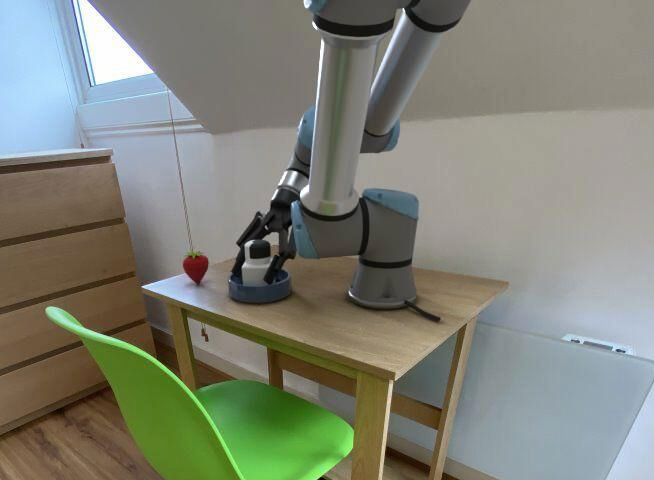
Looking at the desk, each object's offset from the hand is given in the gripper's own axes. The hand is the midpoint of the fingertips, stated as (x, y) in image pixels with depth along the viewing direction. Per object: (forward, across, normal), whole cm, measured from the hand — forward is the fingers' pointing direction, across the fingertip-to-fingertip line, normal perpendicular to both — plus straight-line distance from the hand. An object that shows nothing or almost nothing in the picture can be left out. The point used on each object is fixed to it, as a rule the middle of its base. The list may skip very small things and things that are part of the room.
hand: (250, 278), depth 103 cm
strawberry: (+4, +19, -3) cm, 19 cm away
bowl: (+1, 0, -5) cm, 6 cm away
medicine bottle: (+1, 0, -5) cm, 5 cm away
